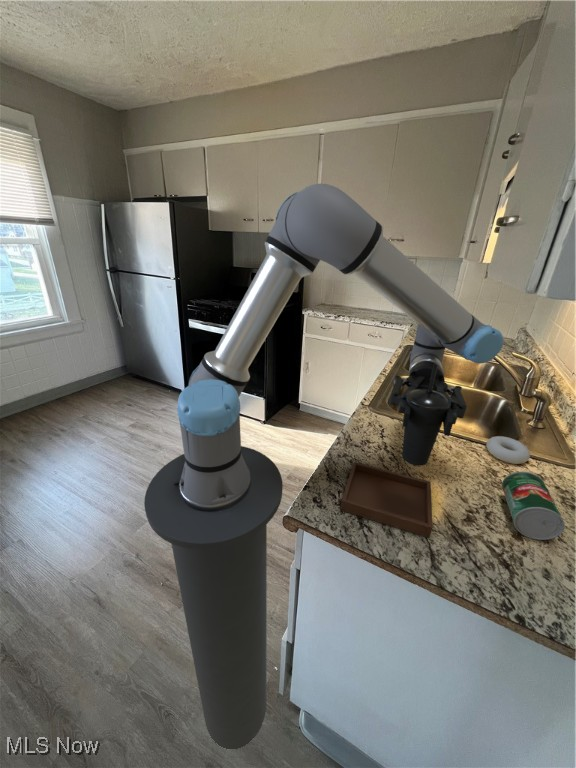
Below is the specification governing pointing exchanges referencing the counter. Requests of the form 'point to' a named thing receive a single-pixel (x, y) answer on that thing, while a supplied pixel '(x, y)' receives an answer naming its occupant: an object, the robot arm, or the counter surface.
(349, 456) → the counter surface
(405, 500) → the tray
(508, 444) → the donut
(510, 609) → the counter surface
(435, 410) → the drinking cup
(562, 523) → the canned tomato
